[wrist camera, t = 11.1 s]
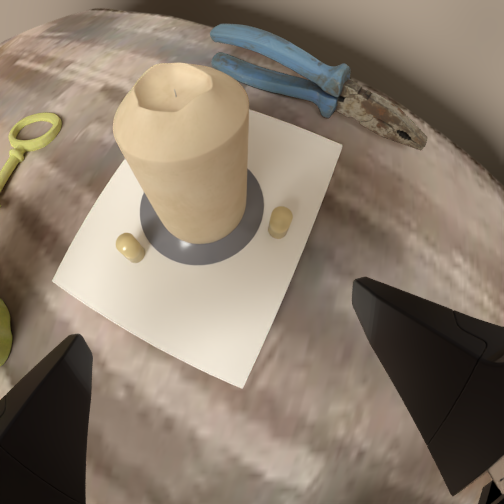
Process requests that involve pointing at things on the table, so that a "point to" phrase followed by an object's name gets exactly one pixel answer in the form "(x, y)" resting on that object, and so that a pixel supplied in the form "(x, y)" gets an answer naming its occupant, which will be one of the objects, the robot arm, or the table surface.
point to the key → (28, 142)
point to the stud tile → (204, 256)
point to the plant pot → (4, 333)
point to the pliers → (312, 83)
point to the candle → (188, 147)
